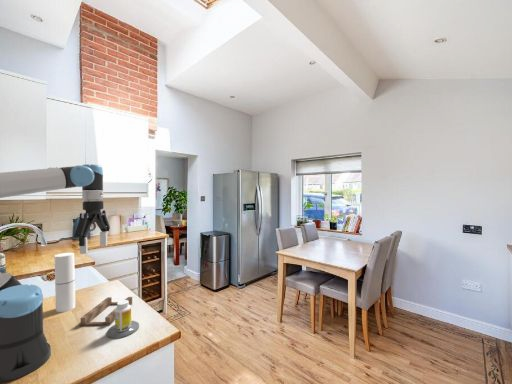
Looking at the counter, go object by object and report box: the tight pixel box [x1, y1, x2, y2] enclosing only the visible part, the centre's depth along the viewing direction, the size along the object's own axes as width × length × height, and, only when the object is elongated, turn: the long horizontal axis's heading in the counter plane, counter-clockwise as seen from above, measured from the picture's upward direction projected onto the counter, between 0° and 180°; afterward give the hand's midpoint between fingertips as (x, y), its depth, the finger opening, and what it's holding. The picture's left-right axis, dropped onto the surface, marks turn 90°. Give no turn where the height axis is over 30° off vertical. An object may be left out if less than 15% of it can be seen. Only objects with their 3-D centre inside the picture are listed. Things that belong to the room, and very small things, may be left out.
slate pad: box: [106, 320, 140, 339], centre depth 96 cm, size 11×11×1 cm
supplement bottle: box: [114, 299, 132, 332], centre depth 95 cm, size 6×6×10 cm
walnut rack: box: [79, 296, 133, 327], centre depth 108 cm, size 19×12×3 cm, turn 1°
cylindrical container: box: [54, 252, 76, 313], centre depth 114 cm, size 7×7×25 cm
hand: (94, 249), depth 107 cm, fingers open, 13 cm apart
